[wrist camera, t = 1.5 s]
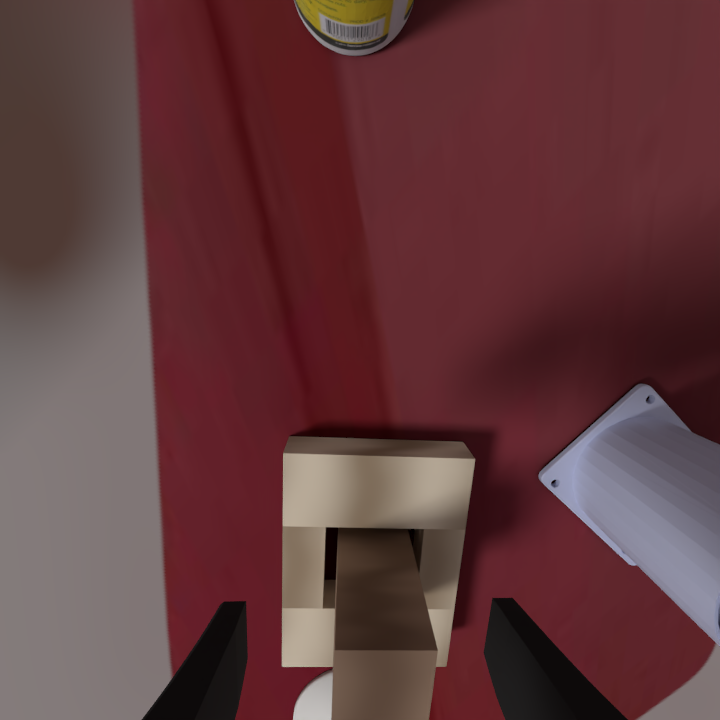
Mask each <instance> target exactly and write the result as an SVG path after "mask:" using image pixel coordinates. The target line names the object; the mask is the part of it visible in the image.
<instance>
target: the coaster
mask: <svg viewBox="0 0 720 720" xmlns="http://www.w3.org/2000/svg"><path fill="white" fill-rule="evenodd" d="M332 683H333V669H331V670H328V671H326V672H324V673H322V674H321V675H319V676H317V677H316V678H314V679H313V680H312V681H311V682H310V683H309V684H308V685H307V686H306V687H305V688H304V689H303V690H302V692H301V693H300V695H299V697H298V699H297V701H296V704H295V708H294V715H293V720H331V714H332Z"/></svg>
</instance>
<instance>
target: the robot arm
mask: <svg viewBox="0 0 720 720" xmlns="http://www.w3.org/2000/svg"><path fill="white" fill-rule="evenodd" d="M648 396H649V399H648V400H647V401H646V398H647V397H648ZM538 476H539V480H540V481H541V482H542V483H543V484H544V485H545V486H546V487H547V488H548V489H549V490H550V491H551V492H553V493H554V494H555V495H556V496H557V497H558V498H559V499H560V500H561V501H562V502H563V503H564V504H565V505H566V506H567V507H568V508H570V509H571V510H572V511H573V512H574V513H575V514H576V515H577V516H578V517H579V518H580V519H581V520H582V521H583V522H584V523H586V524H587V525H588V526H589V527H590V528H591V529H592V530H593V531H594V532H595V533H596V534H597V535H598V536H599V537H600V538H602V539H603V540H604V541H605V542H606V543H607V544H608V545H609V546H610V547H611V548H612V549H613V550H614V551H615V552H616V553H618V554H619V555H620V556H621V557H622V558H623V559H624V560H625V561H626V562H627V563H628V564H630V565H637V566H639V567H640V568H641V569H642V570H643V571H644V572H645V573H646V574H647V575H648V576H649V577H650V578H651V579H652V580H653V581H654V582H655V583H656V584H657V585H658V586H659V587H660V588H661V589H662V590H663V591H664V592H665V593H666V594H667V595H668V596H669V597H670V598H671V599H672V600H673V601H674V602H675V603H676V604H677V605H678V606H679V607H680V608H681V609H682V610H683V611H684V612H685V613H686V614H687V615H688V616H689V617H690V618H691V619H692V620H693V621H694V622H695V623H696V624H697V625H698V626H699V627H701V628H702V629H703V630H704V631H705V632H706V633H707V634H708V635H709V636H710V637H711V638H712V639H713V640H714V641H715V642H716V643H717V644H718V645H719V646H720V445H719V444H717V443H715V442H712V441H710V440H708V439H706V438H704V437H701V436H699V435H697V434H695V433H692V432H691V431H690V429H689V428H688V427H687V426H686V425H685V424H684V423H683V422H682V421H681V419H680V418H679V417H678V416H677V415H676V414H675V413H674V412H673V411H672V409H671V408H670V407H669V406H668V405H667V404H666V403H665V402H664V400H663V399H662V398H661V397H660V396H659V395H658V394H657V393H656V392H655V390H654V389H653V388H652V387H651V386H649V385H646V384H638V385H636V386H635V387H634V388H633V389H631V390H630V391H629V392H628V393H627V394H626V395H625V396H624V397H623V398H621V399H620V400H619V401H618V402H617V403H616V404H615V405H614V406H612V407H611V408H610V409H609V410H608V411H607V412H606V413H605V414H604V415H602V416H601V417H600V418H599V419H598V420H597V421H596V422H595V423H593V424H592V425H591V426H590V427H589V428H588V429H587V430H586V431H585V432H583V433H582V434H581V435H580V436H579V437H578V438H577V439H576V440H574V441H573V442H572V443H571V444H570V445H569V446H568V447H567V448H566V449H564V450H563V451H562V452H561V453H560V454H559V455H558V456H557V457H555V458H554V459H553V460H552V461H551V462H550V463H549V464H548V465H547V466H545V467H544V468H543V469H542V470H541V471H540V472H539V475H538ZM553 480H556V481H555V482H554V483H552V484H551V482H552V481H553ZM484 655H485V659H486V662H487V666H488V669H489V673H490V676H491V680H492V683H493V686H494V689H495V693H496V696H497V699H498V702H499V704H500V707H501V709H502V712H503V715H504V717H505V720H628V719H627V718H625V717H624V716H623V715H622V714H621V713H620V712H619V711H618V710H617V709H616V708H615V707H614V706H613V705H612V704H611V703H610V702H609V701H608V700H607V699H606V698H605V697H604V696H603V695H602V694H601V693H600V692H599V691H598V690H597V689H596V688H595V687H594V686H593V685H592V684H591V683H590V682H589V681H588V680H587V679H586V677H585V676H584V675H583V674H582V673H581V672H580V671H579V670H578V669H577V668H576V667H575V666H574V665H573V664H572V663H571V662H570V661H569V660H568V658H567V657H566V656H565V655H564V654H563V653H562V652H561V651H560V650H559V649H558V648H557V647H556V646H555V644H554V643H553V642H552V641H551V640H550V639H549V638H548V637H547V636H546V634H545V633H544V632H543V631H542V630H541V629H540V628H539V627H538V626H537V625H536V623H535V622H534V621H533V620H532V619H531V618H530V617H529V616H528V615H527V613H526V612H525V611H524V610H523V609H522V608H521V607H520V606H519V605H518V603H517V602H516V601H515V600H514V599H513V598H493V599H492V605H491V611H490V617H489V623H488V630H487V636H486V642H485V648H484ZM247 659H248V655H247V620H246V601H236V602H223V603H222V604H221V605H220V606H219V608H218V610H217V611H216V613H215V615H214V616H213V618H212V619H211V621H210V623H209V624H208V626H207V628H206V629H205V631H204V632H203V634H202V635H201V637H200V639H199V640H198V642H197V643H196V645H195V646H194V648H193V649H192V651H191V652H190V654H189V655H188V657H187V658H186V660H185V661H184V662H183V664H182V665H181V667H180V668H179V670H178V671H177V672H176V674H175V675H174V677H173V678H172V680H171V681H170V682H169V684H168V685H167V687H166V688H165V689H164V691H163V692H162V694H161V695H160V696H159V698H158V699H157V700H156V702H155V703H154V704H153V706H152V707H151V708H150V710H149V711H148V712H147V714H146V715H145V716H144V717H143V719H142V720H235V717H236V713H237V709H238V705H239V700H240V695H241V690H242V685H243V680H244V675H245V669H246V664H247Z"/></svg>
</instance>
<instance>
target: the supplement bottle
mask: <svg viewBox="0 0 720 720" xmlns="http://www.w3.org/2000/svg"><path fill="white" fill-rule="evenodd" d="M294 2H295V4H296V7H297V10H298V13H299V15H300V17H301V19H302V21H303V22H304V24H305V26H306V27H307V29H308V30H309V31H310V33H311V34H312V35H313V36H314V37H315V38H316V39H317V40H318V41H319V42H320V43H321V44H323V45H324V46H326V47H327V48H329V49H331V50H333V51H335V52H337V53H340V54H344V55H350V56H362V55H367V54H370V53H373V52H375V51H378V50H379V49H381V48H383V47H384V46H386V45H387V44H389V43H390V42H391V41H392V40H393V39H394V38H395V37H396V36H397V35H398V33H399V32H400V31H401V29H402V28H403V26H404V25H405V23H406V21H407V19H408V17H409V15H410V12H411V9H412V7H413V3H414V0H294Z"/></svg>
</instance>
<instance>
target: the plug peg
mask: <svg viewBox="0 0 720 720" xmlns="http://www.w3.org/2000/svg"><path fill="white" fill-rule="evenodd" d="M437 654H438V649H437V645H436V641H435V637H434V633H433V629H432V625H431V620H430V616H429V612H428V608H427V604H426V600H425V596H424V592H423V588H422V584H421V580H420V576H419V572H418V568H417V564H416V560H415V556H414V552H413V548H412V544H411V540H410V536H409V532H408V529H397V528H344V527H338V541H337V562H336V590H335V621H334V652H333V683H332V714H331V720H429V714H430V707H431V699H432V692H433V684H434V677H435V669H436V662H437Z"/></svg>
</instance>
